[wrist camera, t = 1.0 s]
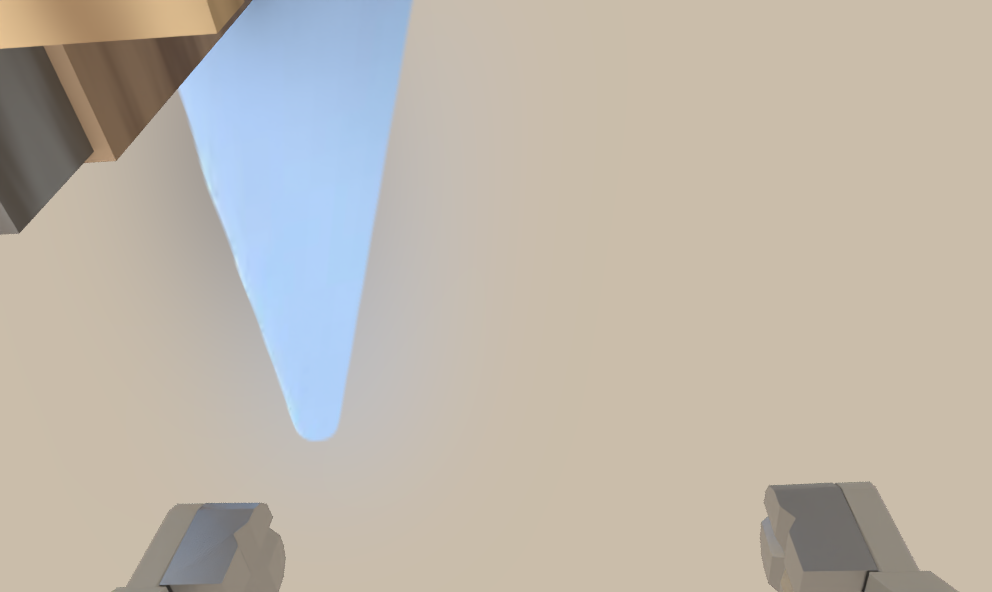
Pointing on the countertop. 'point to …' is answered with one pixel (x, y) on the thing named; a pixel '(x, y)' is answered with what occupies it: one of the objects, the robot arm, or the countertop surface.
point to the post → (126, 82)
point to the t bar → (41, 97)
